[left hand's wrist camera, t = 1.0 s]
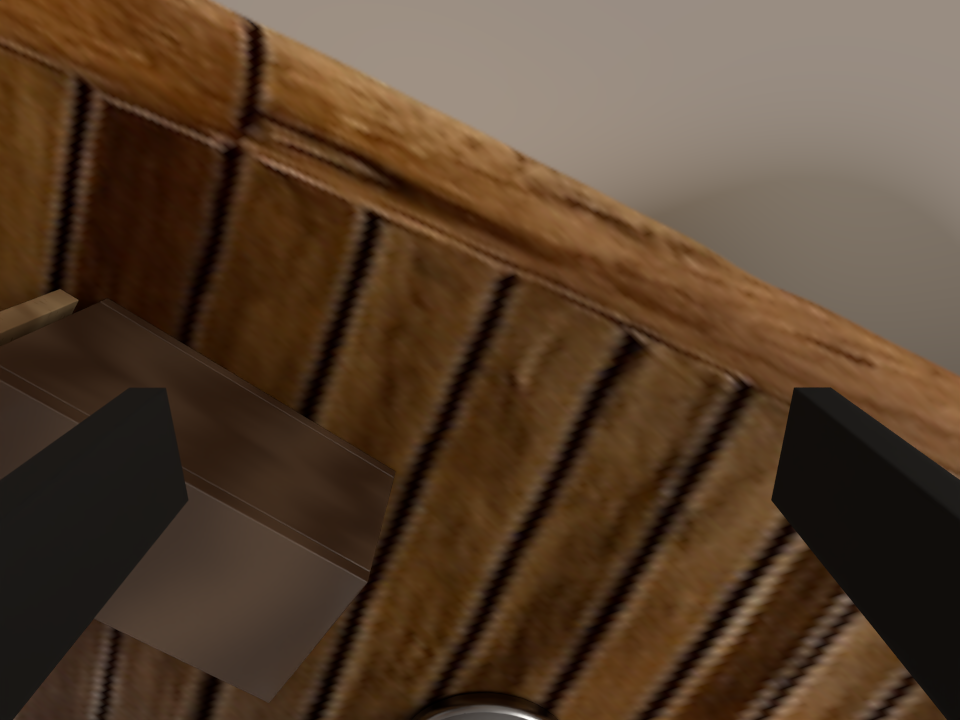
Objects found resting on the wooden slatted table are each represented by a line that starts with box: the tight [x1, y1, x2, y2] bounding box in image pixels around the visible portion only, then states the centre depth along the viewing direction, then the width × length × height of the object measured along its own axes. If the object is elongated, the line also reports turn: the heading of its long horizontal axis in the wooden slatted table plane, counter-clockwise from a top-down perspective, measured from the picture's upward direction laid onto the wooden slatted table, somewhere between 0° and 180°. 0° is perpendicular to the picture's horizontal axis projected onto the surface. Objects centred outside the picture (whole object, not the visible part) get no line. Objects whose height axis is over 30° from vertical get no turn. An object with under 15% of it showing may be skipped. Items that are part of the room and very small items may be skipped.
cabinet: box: [0, 298, 395, 703], centre depth 35 cm, size 21×11×11 cm, turn 54°
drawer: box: [0, 289, 78, 346], centre depth 34 cm, size 26×10×9 cm, turn 54°
